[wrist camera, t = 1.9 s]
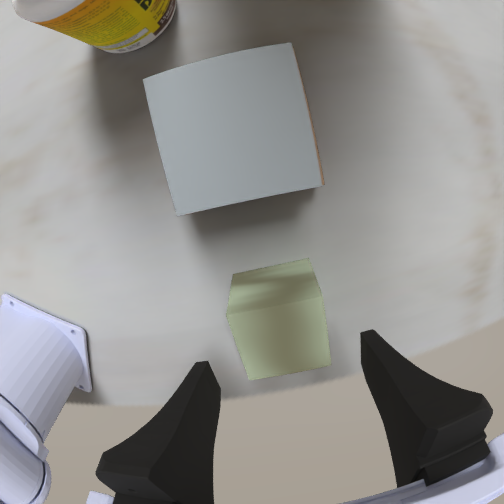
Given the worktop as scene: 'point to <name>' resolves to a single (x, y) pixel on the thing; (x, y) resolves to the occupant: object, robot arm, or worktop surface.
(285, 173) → the grey slab
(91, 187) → the worktop surface
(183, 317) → the worktop surface
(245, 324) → the sage block
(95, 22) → the supplement bottle
